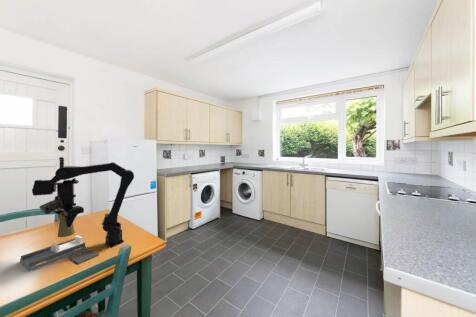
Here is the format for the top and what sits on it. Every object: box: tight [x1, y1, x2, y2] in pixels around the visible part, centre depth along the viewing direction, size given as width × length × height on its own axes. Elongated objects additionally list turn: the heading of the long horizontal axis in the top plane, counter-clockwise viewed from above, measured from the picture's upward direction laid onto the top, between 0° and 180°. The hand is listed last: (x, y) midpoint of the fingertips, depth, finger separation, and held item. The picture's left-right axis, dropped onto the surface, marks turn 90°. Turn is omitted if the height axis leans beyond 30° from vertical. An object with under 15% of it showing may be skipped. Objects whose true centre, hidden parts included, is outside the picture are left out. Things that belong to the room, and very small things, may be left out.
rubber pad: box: [69, 249, 100, 265], centre depth 86 cm, size 8×8×1 cm
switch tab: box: [50, 234, 84, 253], centre depth 90 cm, size 10×7×3 cm
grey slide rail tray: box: [19, 237, 87, 272], centre depth 86 cm, size 19×12×3 cm, turn 153°
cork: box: [57, 212, 76, 238], centre depth 88 cm, size 6×6×11 cm
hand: (66, 225), depth 89 cm, fingers closed on cork, 4 cm apart
